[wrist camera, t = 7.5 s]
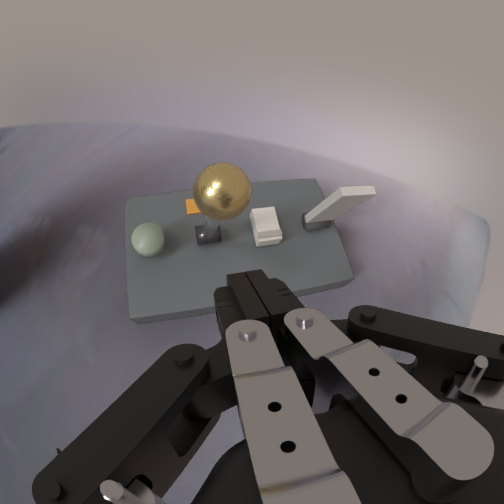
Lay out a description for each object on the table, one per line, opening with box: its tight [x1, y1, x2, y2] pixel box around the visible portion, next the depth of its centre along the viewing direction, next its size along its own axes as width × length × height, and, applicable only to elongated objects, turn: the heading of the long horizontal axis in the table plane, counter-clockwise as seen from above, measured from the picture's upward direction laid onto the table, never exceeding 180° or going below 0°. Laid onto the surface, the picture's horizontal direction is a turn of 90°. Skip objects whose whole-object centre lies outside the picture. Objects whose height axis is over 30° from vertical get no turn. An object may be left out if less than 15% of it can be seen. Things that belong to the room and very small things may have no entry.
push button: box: [131, 222, 165, 258], centre depth 26 cm, size 3×3×3 cm
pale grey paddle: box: [302, 186, 376, 231], centre depth 26 cm, size 2×4×10 cm, turn 104°
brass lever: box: [193, 163, 252, 246], centre depth 20 cm, size 3×3×16 cm
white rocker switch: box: [250, 207, 282, 247], centre depth 29 cm, size 4×2×2 cm, turn 14°
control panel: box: [125, 179, 354, 324], centre depth 31 cm, size 14×24×3 cm, turn 104°
